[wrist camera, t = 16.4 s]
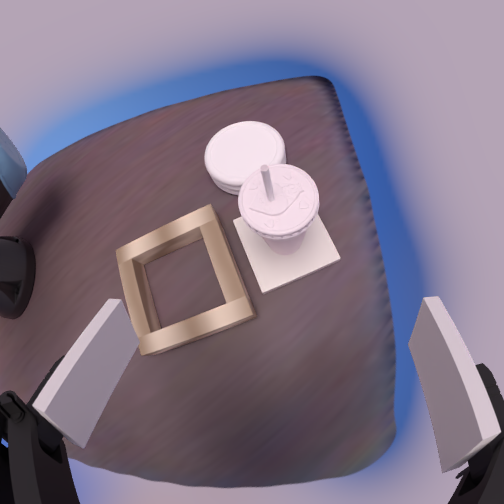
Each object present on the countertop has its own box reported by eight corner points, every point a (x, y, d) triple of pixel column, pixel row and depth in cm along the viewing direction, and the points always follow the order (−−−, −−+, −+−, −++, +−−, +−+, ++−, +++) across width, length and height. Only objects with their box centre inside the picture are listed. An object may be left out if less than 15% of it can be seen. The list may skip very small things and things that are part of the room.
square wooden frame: (154, 355, 30) (141, 355, 27) (128, 257, 34) (115, 250, 31) (257, 316, 29) (253, 314, 27) (217, 214, 34) (210, 203, 31)
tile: (263, 294, 30) (262, 292, 29) (234, 223, 33) (232, 220, 32) (339, 260, 30) (340, 258, 29) (304, 194, 33) (304, 190, 32)
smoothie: (247, 225, 32) (211, 149, 18) (299, 203, 31) (295, 117, 18) (268, 277, 30) (243, 226, 16) (324, 253, 29) (341, 186, 16)
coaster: (283, 132, 36) (281, 115, 33) (289, 193, 33) (288, 178, 30) (213, 140, 38) (206, 125, 35) (209, 201, 35) (200, 187, 32)
